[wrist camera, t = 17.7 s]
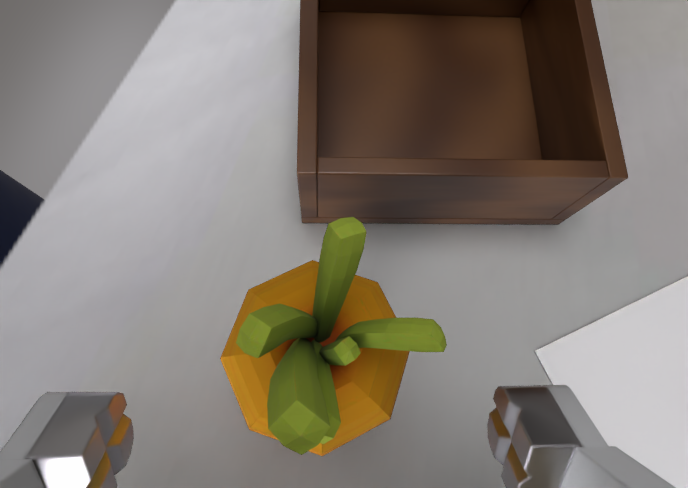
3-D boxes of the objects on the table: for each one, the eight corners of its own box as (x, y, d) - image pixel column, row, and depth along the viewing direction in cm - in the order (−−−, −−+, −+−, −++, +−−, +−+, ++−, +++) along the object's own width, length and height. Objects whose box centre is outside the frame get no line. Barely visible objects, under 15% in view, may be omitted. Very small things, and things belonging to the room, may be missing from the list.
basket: (302, 223, 24) (296, 173, 18) (305, 10, 28) (302, -83, 22) (558, 224, 24) (629, 177, 19) (525, 17, 28) (576, -72, 23)
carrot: (314, 293, 23) (306, 135, 8) (391, 361, 22) (531, 318, 7) (242, 372, 21) (84, 347, 7) (322, 447, 20) (329, 594, 6)
